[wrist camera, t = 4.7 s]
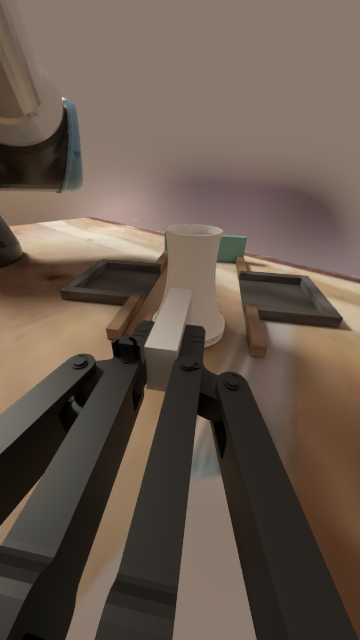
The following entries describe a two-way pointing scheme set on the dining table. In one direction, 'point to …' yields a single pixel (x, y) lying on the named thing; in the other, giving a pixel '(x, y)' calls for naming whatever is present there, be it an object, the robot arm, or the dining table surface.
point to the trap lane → (256, 291)
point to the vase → (195, 274)
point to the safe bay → (228, 247)
